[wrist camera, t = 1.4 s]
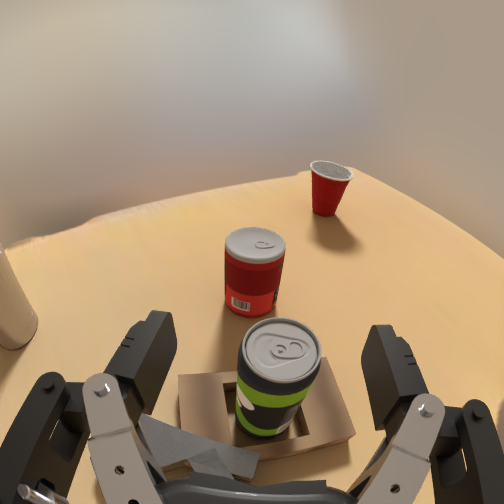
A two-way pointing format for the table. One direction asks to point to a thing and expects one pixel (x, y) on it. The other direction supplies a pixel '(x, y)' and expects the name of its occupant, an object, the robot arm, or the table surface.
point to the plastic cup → (328, 186)
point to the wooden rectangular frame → (314, 437)
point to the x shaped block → (196, 451)
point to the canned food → (253, 270)
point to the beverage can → (274, 375)
